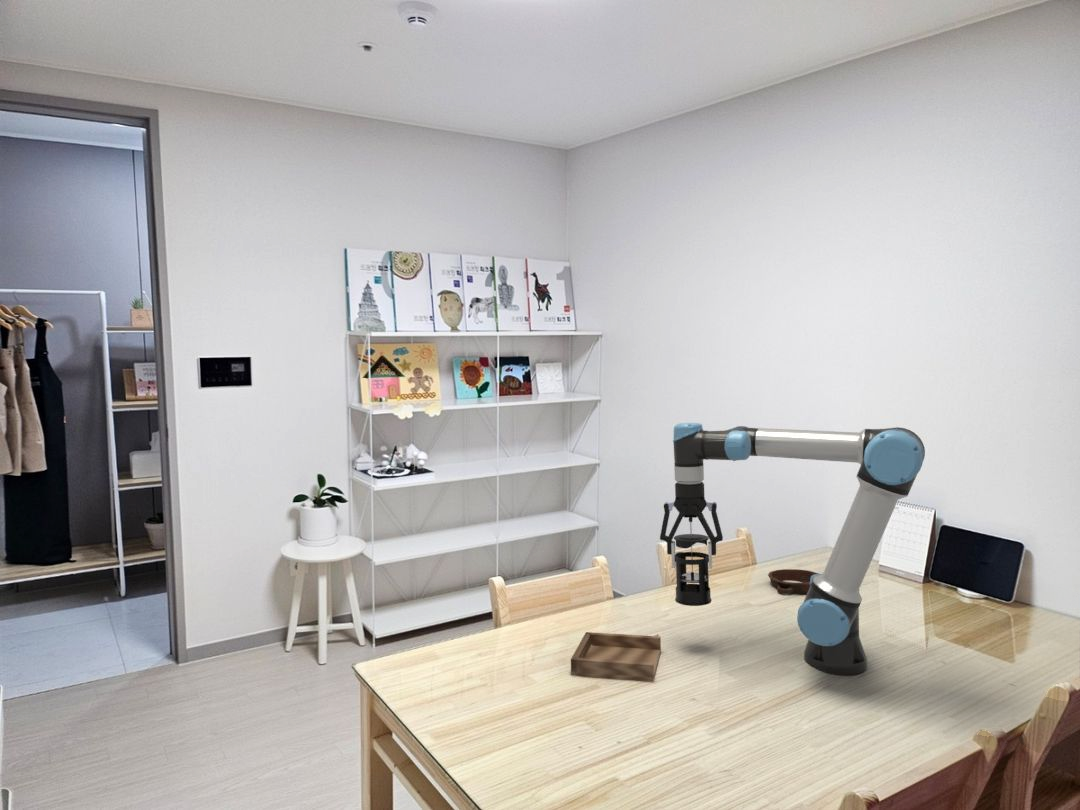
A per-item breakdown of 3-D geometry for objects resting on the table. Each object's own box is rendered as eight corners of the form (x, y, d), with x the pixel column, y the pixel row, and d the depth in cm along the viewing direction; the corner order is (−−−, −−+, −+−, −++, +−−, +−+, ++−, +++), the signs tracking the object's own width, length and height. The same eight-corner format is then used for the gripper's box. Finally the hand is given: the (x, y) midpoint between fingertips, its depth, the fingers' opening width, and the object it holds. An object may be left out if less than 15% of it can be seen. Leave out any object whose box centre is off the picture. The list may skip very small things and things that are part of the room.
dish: (755, 592, 250) (755, 577, 249) (785, 578, 266) (785, 564, 265) (806, 602, 238) (806, 586, 237) (834, 587, 254) (834, 572, 253)
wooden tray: (660, 651, 198) (660, 636, 198) (653, 681, 179) (653, 665, 179) (586, 646, 203) (585, 632, 203) (571, 675, 184) (570, 659, 184)
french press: (720, 603, 195) (717, 515, 194) (689, 608, 192) (686, 519, 191) (694, 592, 206) (691, 508, 205) (665, 597, 202) (662, 512, 202)
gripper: (731, 479, 198) (734, 564, 199) (649, 480, 204) (652, 562, 204) (731, 483, 191) (734, 571, 192) (646, 484, 196) (649, 569, 197)
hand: (692, 566), depth 198 cm, fingers closed on french press, 9 cm apart
